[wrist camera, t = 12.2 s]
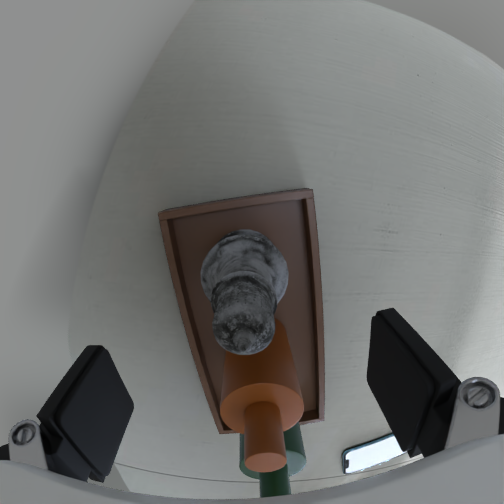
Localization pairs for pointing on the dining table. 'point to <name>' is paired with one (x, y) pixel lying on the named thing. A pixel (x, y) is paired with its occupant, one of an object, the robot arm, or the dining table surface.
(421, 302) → the dining table surface
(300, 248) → the tray
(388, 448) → the smartphone
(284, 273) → the salt shaker
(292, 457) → the dark green bottle
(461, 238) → the dining table surface
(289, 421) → the amber bottle
